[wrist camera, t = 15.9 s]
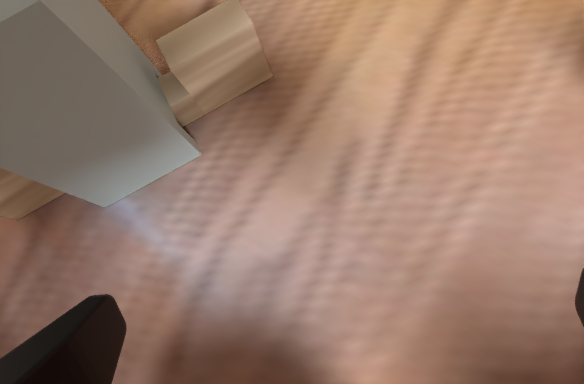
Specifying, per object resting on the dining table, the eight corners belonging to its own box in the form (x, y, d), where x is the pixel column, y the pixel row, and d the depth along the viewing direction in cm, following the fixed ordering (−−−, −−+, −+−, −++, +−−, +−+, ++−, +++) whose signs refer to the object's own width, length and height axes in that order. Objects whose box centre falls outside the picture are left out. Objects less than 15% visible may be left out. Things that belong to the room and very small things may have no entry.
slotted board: (273, 76, 25) (252, 22, 20) (17, 220, 25) (-63, 200, 20) (258, 52, 26) (235, -5, 21) (8, 192, 26) (-70, 167, 21)
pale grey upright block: (201, 154, 24) (40, 0, 12) (105, 207, 25) (-155, 108, 12) (165, 78, 26) (-7, -124, 14) (75, 128, 26) (-176, -29, 14)
